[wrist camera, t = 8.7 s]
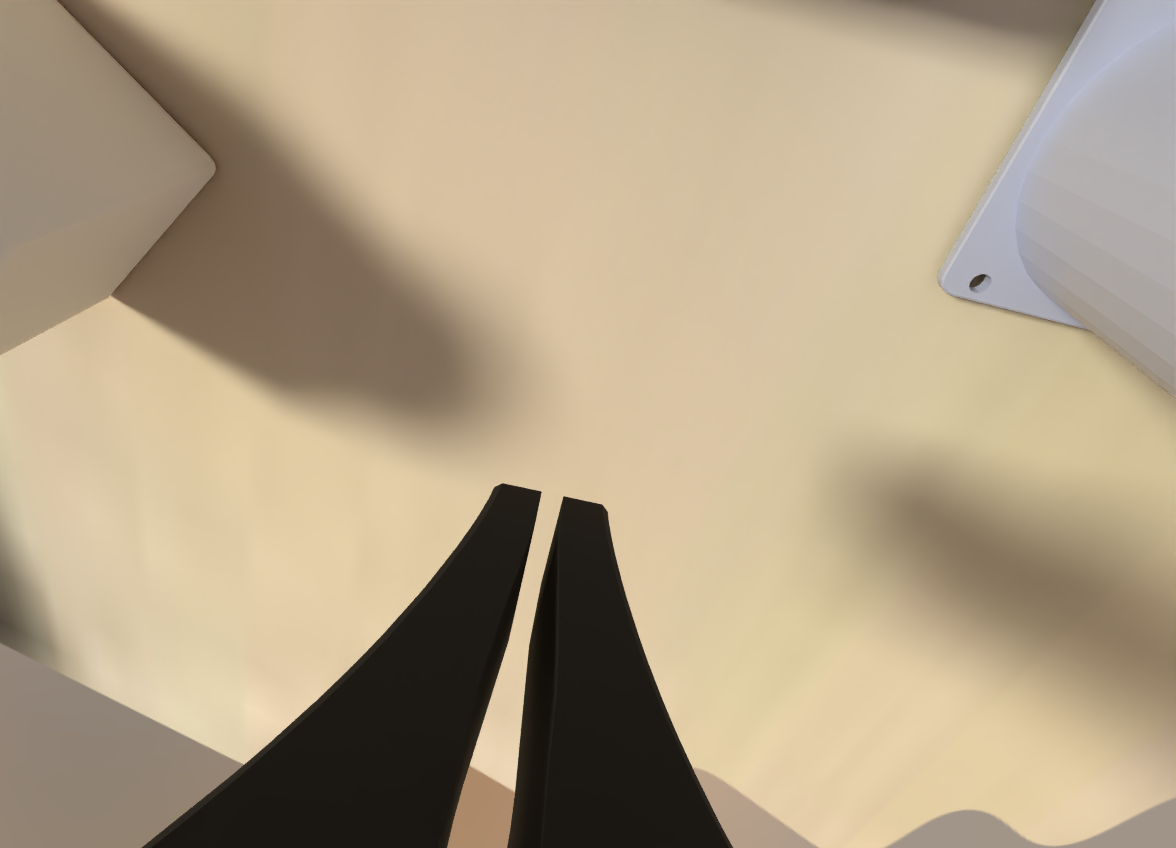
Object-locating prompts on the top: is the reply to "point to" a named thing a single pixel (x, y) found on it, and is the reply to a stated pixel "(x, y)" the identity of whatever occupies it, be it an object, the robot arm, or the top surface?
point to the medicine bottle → (78, 170)
